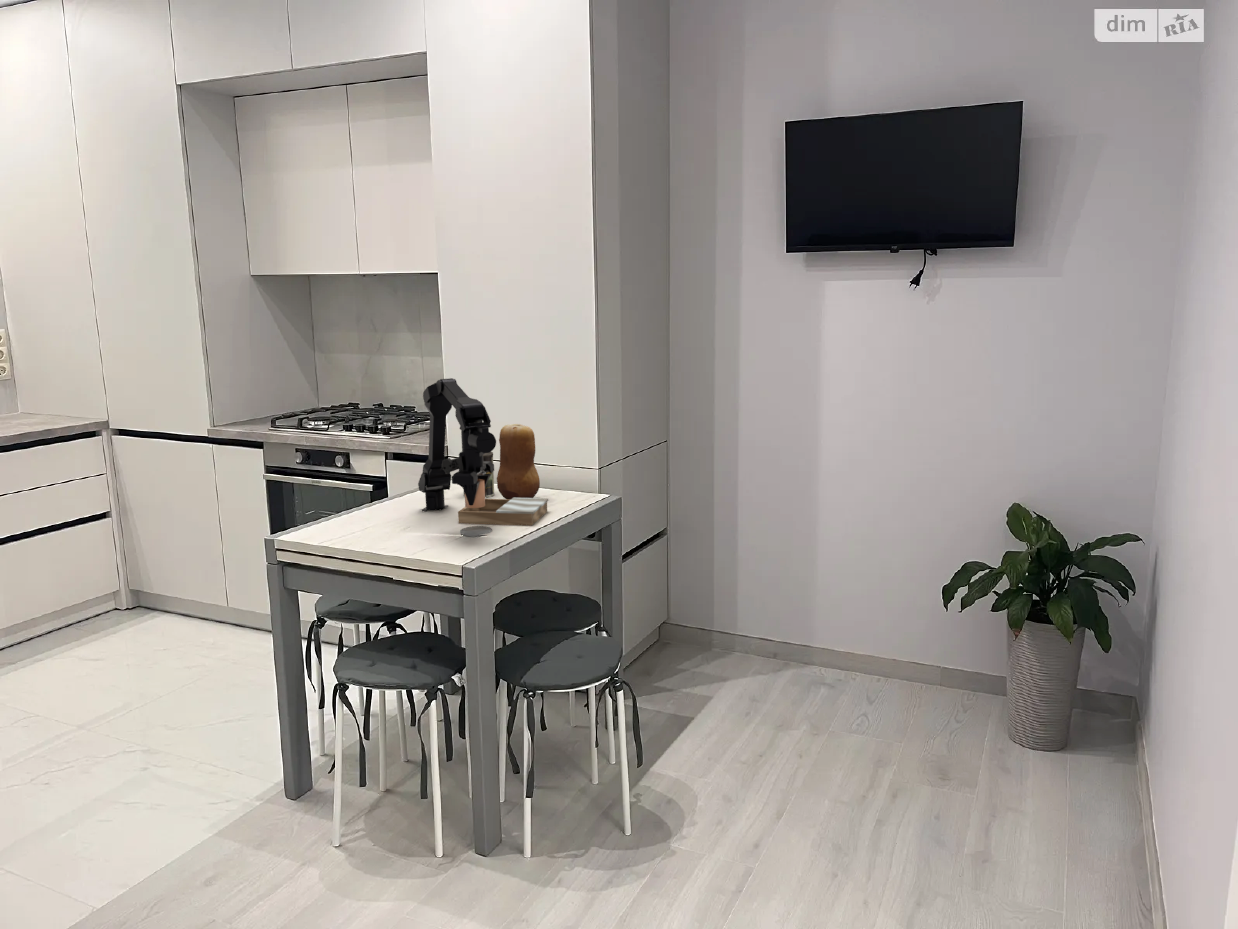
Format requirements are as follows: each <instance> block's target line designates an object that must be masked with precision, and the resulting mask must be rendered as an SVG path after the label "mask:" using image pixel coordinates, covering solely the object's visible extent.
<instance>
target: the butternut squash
mask: <svg viewBox="0 0 1238 929" xmlns="http://www.w3.org/2000/svg"><path fill="white" fill-rule="evenodd" d="M498 441H499V468H498V471H497V476H496V484H497V485H496V487H497V490H498V492H499V494H501V497H503V499H512V498H535V496H536V495H537V493H538V492H539V490H540V486H541V485H540V476H539V473H538V470H537V468H536V466H535V456H536V438H535V433H534V431H533V429H532V428H531V427H530V426H527V425H523V424H520V423H513V424H505V425H504V426H502V428H501V429H500V432H499V438H498Z"/></svg>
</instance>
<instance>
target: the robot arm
mask: <svg viewBox="0 0 1238 929" xmlns="http://www.w3.org/2000/svg"><path fill="white" fill-rule="evenodd" d="M422 398H423V402H424V406H425V408H426V410H427V411H428V413H429V429H428V430H429V433H428V434H429V435H428V436H429V437H428V457H427V458H428V459H427V460H426V461H425V462H424V464H423V466H422V473H421V474H420V477H419V480H418V483H417V487H418V490H419V491H420V492H422V493H423V494H425V507H424V508H422V509H421V512H429V511H439V512H440V511H443V510H445V509H446V508H448V507H449V505H447V504H445V491H446V490H450V488H451V484H452V485H457V486H460V488H462V489H463V493H464V492H465V494H466V497H467V500H468V503H469V505H473V504H474V501H475V498H476V494H477V491H478V487H479V483H480V481H477V479H482V480H484V483H485V487H486V485H487V482H488V480H489V477H490V476H491V474H486V471H489V473H492V472H493V471H494V472H495V464H494V462H493V463H492V462H491V461H483V455H484V454H485V453H489V452H493V450H494V449H495V448H496V446H497V440H496V436H495V435H494V434H493V433H492V432H490V428H492V425H491V422H492V421H491V418H490V416H489V413H488V411H487V409H486V407H485V406H484V404H483V403H482V401H479V399H477V398H472V397H469V396H468V394H467V393H466V392H465V391H464V389H462V388H461V387H460V386H459V384H458V382H457V380H456V378H451V377H449V378H440V379H438V380H437V381H436V382H434V383H433V384H430V385H428V386H427V387H426V388H425V389H424V391H423V393H422ZM452 407H453V408H454V410H455V411H454V412H455V418H456V420H457V422H458V425H459V430H460V431H461V433H460V434H461V436H460V437H461V451H460V452H459V453H458V457H454V458H450V457H448V458H446V459H445V455H446V454H445V453H446V452H445V451H446V422H447V415H448V414H449V412H450V411H451V409H452ZM455 471H457V472H455ZM452 472H455V473H453V475H452Z"/></svg>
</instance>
